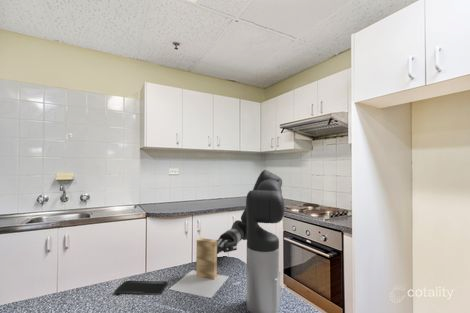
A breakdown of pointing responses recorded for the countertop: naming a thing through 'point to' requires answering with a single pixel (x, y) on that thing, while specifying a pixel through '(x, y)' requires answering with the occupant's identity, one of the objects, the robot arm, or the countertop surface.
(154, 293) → the phone
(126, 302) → the countertop surface
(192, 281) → the white square pad
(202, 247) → the brown flat rectangular block
